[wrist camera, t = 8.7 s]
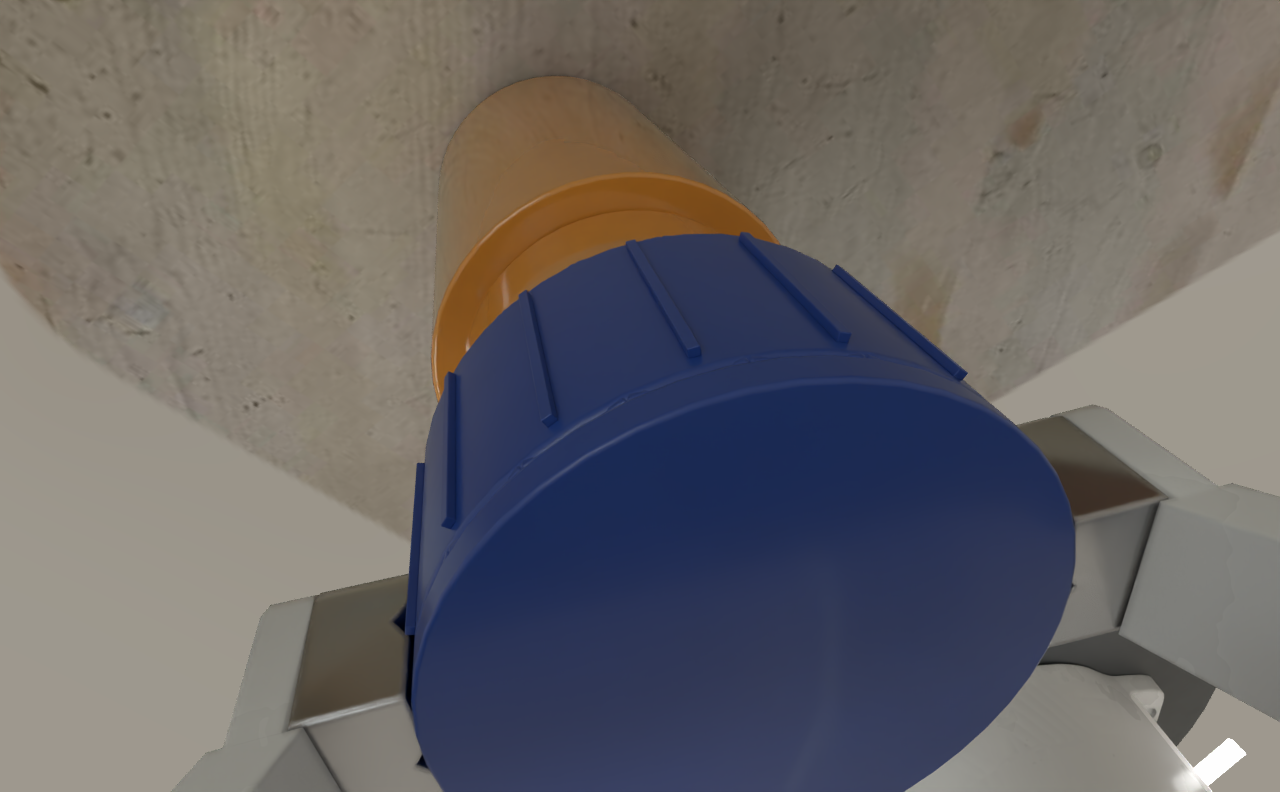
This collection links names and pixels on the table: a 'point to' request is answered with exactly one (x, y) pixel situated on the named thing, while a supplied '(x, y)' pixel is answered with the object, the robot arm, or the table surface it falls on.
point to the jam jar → (556, 199)
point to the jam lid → (720, 537)
